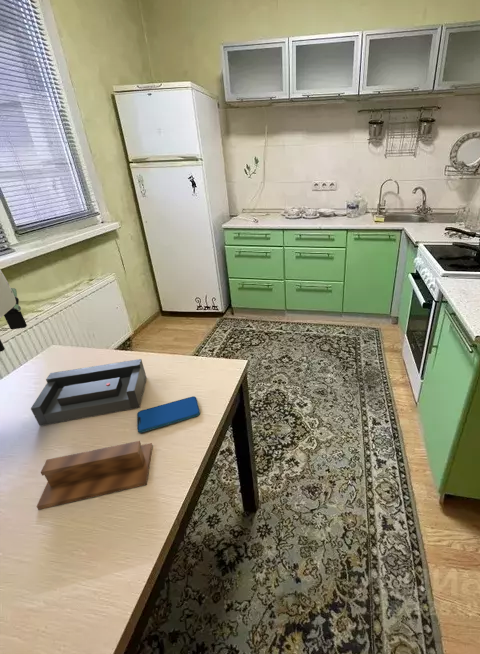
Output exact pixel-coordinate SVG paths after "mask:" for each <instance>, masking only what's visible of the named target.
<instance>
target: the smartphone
mask: <svg viewBox="0 0 480 654" xmlns="http://www.w3.org/2000/svg"><path fill="white" fill-rule="evenodd" d="M199 415H201V410H200V406H199V404H198V398H197V397H196V396H195V395H193V396H189V397H185V398H181V399H178V400H175V401H170V402H167V403H162V404H160V405H156V406H153V407H149V408H145V409H141V410H139V411H138V412H136V427H137V432H138V433H140V434H141V433H144V432H148V431H152V430H155V429H158V428H162V427H166V426H169V425H172V424H175V423H179V422H182V421H186V420H189V419H192V418H196V417H198V416H199Z"/></svg>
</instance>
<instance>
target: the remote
mask: <svg viewBox="0 0 480 654" xmlns="http://www.w3.org/2000/svg"><path fill="white" fill-rule="evenodd" d="M121 387H122V382H121V378H120V377H118V378H112V379H106V380H100V381H94V382H88V383H82V384H76V385H69V386H64V387H63V389H62V391H61V393H60V395H59V396H58V398H57V400H58V402H59V405H60V406H65V405H71V404H76V403H82V402H88V401H93V400H99V399H105V398H110V397H116V396H119V393H120V390H121Z"/></svg>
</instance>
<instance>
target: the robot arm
mask: <svg viewBox="0 0 480 654" xmlns="http://www.w3.org/2000/svg"><path fill="white" fill-rule="evenodd" d="M19 301H20V300H19V298H18V292H17V289H16V288H15V287H11V286H10V284H9V282H8V279H7V277H6V276H5V275H4V273H3V271H2V269H0V319H2V317H4V320H5V321H6V323H7V325H8V327H9V329H10V330H20V329H25V328H27V327H28V325H27V322H26V320H25V317H24V316H23V313H22V311H21V310H22V308H21V305H19ZM5 350H6V347H5V346H4V343H3V342H2V340H1V339H0V352H4V351H5Z"/></svg>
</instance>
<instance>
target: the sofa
mask: <svg viewBox="0 0 480 654" xmlns="http://www.w3.org/2000/svg"><path fill="white" fill-rule="evenodd" d="M118 377H120V378H121V382H122V387H121V390H120V393H119V396H116V397H110V398H105V399H99V400H93V401H88V402H82V403H76V404H71V405H65V406H60V405H59V402H58V400H57V398H58V396H59V395H60V393H61V391H62V389H63V387H64V386H69V385H76V384H82V383H88V382H94V381H100V380H106V379H112V378H118ZM45 381H46V383H45V385H44V387H43V389H42V390H41V392H40V393H39V395H38V396H37V398H36V400H35V401H34V402H33V404H32V405H31V407H30V410H31V412H32V414H33V416H34V418H35V420H36V422H37V424H38V426H39V427H43V426H48V425H52V424H53V425H54V424H58V423H64V422H69V421H75V420H76V421H77V420H80V419H81V420H82V419H85V418H91V417H97V416H101V415H103V416H104V415H106V414H113V413H119V412H125V411H130V410H135V409H140V408H141V403H142V399H143V395H144V390H145V386H146V383H147V375H146V371H145V367H144V363H143V359H142V358H138V359H137V358H136V359H132V360H125V361H119V362H113V363H106V364H99V365H93V366H87V367H80V368H74V369H67V370H61V371H55V372H50V373H49V374H48V376H47V377H46V378H45Z"/></svg>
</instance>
